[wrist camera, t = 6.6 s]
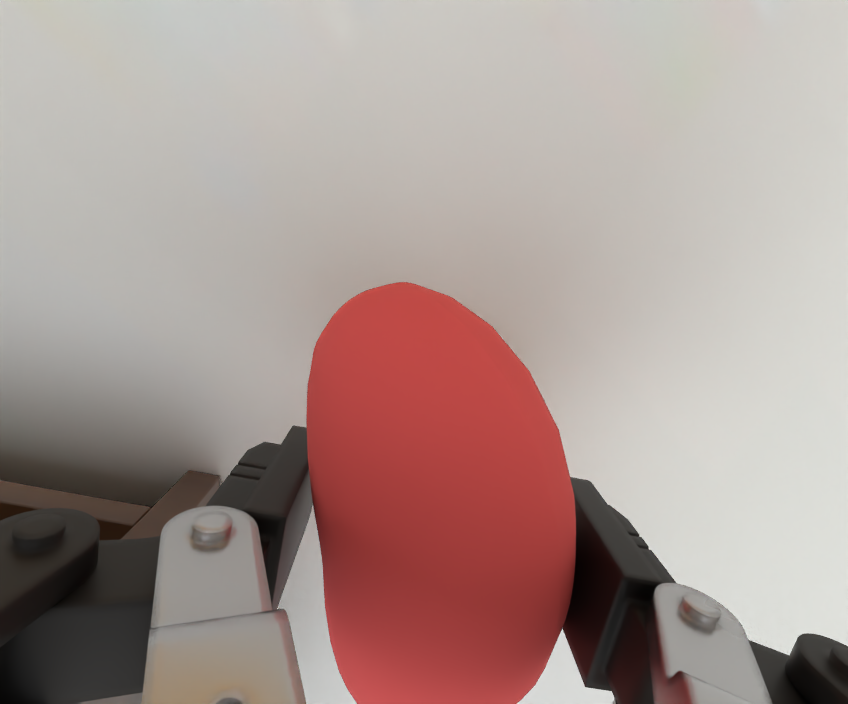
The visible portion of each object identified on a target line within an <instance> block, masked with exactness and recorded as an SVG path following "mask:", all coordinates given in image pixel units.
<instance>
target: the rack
mask: <svg viewBox="0 0 848 704" xmlns="http://www.w3.org/2000/svg"><path fill="white" fill-rule="evenodd" d="M219 484H220V476H216V475H211V474H206V473H200V472H195V471H187V472H186V473H185V474H184V475H183V477H182V478H181V479H180V480H179V481H178V482H177V483H176V484H175V485H174V486H173V487H172V488H171V489H170V490H169V491H168V492H167V493H166V494H165V495H164V496H163V497H162V498H161V499H160V500H159V501H158V502H157V503H156V504H155V505H154V506H153V507H152V508H151V509H150V507H147V506H142V505H136V504H130V503H125V502H119V501H114V500H108V499H102V498H97V497H91V496H86V495H80V494H74V493H69V492H63V491H57V490H52V489H46V488H41V487H35V486H29V485H24V484H18V483H13V482H7V481H1V480H0V521H1V520H3V519H5V518H8V517H11V516H14V515H17V514H20V513H24V512H28V511H33V510H39V509H47V508H68V509H75V510H79V511H83V512H85V513H88V514H90V515H91V516H93V517H94V518H95V519H96V520H97V521H98V523H99V525H100V537H99V540H121V539H140V538H150V537H156V536H160V535H161V532H162V529H163V527H164V526H165V524H166V523H167V522H168V521H169V520H170V519H172V518H173V517H174V516H176V515H178V514H180V513H182V512H184V511H187V510H190V509H193V508H198V507H203V506H206V504H207V503H208V502H209V500H210V499H211V498H212V496H213V495H214V494H215V492H216V491H217V490H218V488H219ZM142 694H143V693H136V694H130V695H124V696H117V697H111V698H105V699H98V700H92V701H86V702H82V703H81V704H141V703H142Z"/></svg>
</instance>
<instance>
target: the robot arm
mask: <svg viewBox="0 0 848 704" xmlns="http://www.w3.org/2000/svg"><path fill="white" fill-rule="evenodd" d="M570 480H571V484H572V488H573V492H574V500H575V513H576V558H575V573H574V582H573V589H572V595H571V600H570V605H569V609H568V612H567V616H566V619H565V622H564V625H563V627H562V628H563V630H564V633H565V636H566V638H567V641H568V643H569V646H570V649H571V651H572V654H573V656H574V659H575V661H576V664H577V667H578V669H579V672H580V674H581V677H582V680H583V682H584V685H585V687H588V688H595V689H602V690H608V691H612V692H613V695H614V697H615V698H614V701H613V704H848V646H846V645H844V644H842V643H839V642H837V641H835V640H832V639H830V638H827V637H824V636H821V635H816V634H802V635H800V636H799V637H798V639H797V641H796V643H795V645H794V647H793V649H792V651H791V654H790V656H789V655H786V654H784V653H781V652H778V651H776V650H773V649H771V648H768V647H765V646H763V645H760V644H757V643H755V642H752V641H750V640H748V638H747V636H746V633H745V631H744V629H743V627H742V625H741V624H740V622H739V621H738V620H737V618H736V617H735V616H734V615H733V614H732V613H731V612H730V611H729V610H728V609H726V608H725V607H724V606H723V605H721V604H720V603H718V602H717V601H716V600H714V599H713V598H711V597H709V596H708V595H706V594H704V593H702V592H700V591H698V590H695V589H693V588H691V587H688V586H685V585H681V584H677V583H676V582H675V581H674V579H673V578H672V577H671V575H670V574H669V573H668V572H667V570H666V569H665V568H664V566H663V565H662V564H661V562H660V561H659V560H658V558H657V557H656V556H655V555H654V553H653V552H652V551H651V550H649V549H648V548H649V547H648V545H647V544H646V543H645V541H644V540H643V539H642V538H641V537H639V534H638V532H637V531H636V530H635V528H634V527H633V526H632V524H631V523H630V522H629V520H628V519H626V518H625V517H624V516H623V515H621V514H620V513H619V512H618V511H616V510H615V509H614V508H612V507H611V506H610V505H607V503H606V502H605V501H604V499H603V498H602V496H601V495H600V494H599V492H598V491H597V490H596V488H595V487H594V485H593V484H592V483H591V482H590V481H588V480H583V479H577V478H572V477H570ZM312 505H313V500H312V494H311V484H310V475H309V465H308V450H307V428H305V427H299V426H294V425H293V426H292V428H291V429H290V431H289V433H288V434H287V436H286V437H285V439H284V441H283V442H282V444H281V445H279V444H273V443H268V442H263V443H261V444H259V445H257V446H255V447H253V448H251V449H249V450H247V452H246V453H245V454H244V456H243V457H242V458H241V459H240V461H239V462H238V465H236V466H235V467H234V469H233V470H232V471H231V473H230V475H228V477H227V478H226V479H225V481H224V482H223V483H222V485H221V486H220V487H219V488H218V490H217V491H216V492H215V494H214V495H213V496H212V498H211V499H210V500H209V502H208V503H207V504H206V506H203V507H198V508H193V509H190V510H187V511H184V512H182V513H180V514H178V515H176V516H174V517H173V518H172V519H170V520H169V521H168V522H167V523H166V524H165V526H164V527H163V529H162V532H161V535H160V536H156V537H150V538H140V539H121V540H99V537H100V525H99V523H98V521H97V520H96V519H95V518H94V517H93V516H91V515H90V514H88V513H85V512H83V511H79V510H75V509H68V508H47V509H39V510H33V511H28V512H24V513H20V514H17V515H14V516H11V517H8V518H5V519H3V520H1V521H0V704H81V703H82V702H86V701H92V700H98V699H105V698H111V697H117V696H124V695H130V694H136V693H143V694H142V703H141V704H306V700H305V695H304V690H303V686H302V681H301V676H300V671H299V666H298V662H297V657H296V652H295V647H294V643H293V638H292V633H291V628H290V623H289V619H288V616H287V613H286V611H285V610H284V609H277V606H278V604H279V601H280V598H281V595H282V593H283V590H284V587H285V584H286V581H287V579H288V576H289V573H290V570H291V567H292V565H293V562H294V559H295V556H296V553H297V551H298V548H299V545H300V542H301V539H302V537H303V534H304V531H305V528H306V525H307V523H308V520H309V516H310V513H311V509H312Z"/></svg>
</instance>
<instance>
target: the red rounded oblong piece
mask: <svg viewBox="0 0 848 704" xmlns="http://www.w3.org/2000/svg"><path fill="white" fill-rule="evenodd" d="M307 450H308V465H309V475H310V484H311V494H312V500H313V506H314V512H315V518H316V524H317V530H318V535H319V541H320V547H321V554H322V563H323V578H324V597H325V609H326V615H327V622H328V628H329V635H330V641H331V645H332V649H333V652H334V655H335V659H336V662H337V666H338V669H339V672H340V674H341V676H342V678H343V681H344V683H345V685H346V687H347V689H348V691H349V692H350V694H351V695H352V696H353V698H354V699H355V701H356V702H357V704H516V703H518V702H519V701H520V700H521V699H522V698H523V697H524V696H525V695H526V694H527V693H528V692H529V691H530V690H531V689H532V688H533V687H534V686H535V684H536V683H537V681H538V679H539V677H540V676H541V674H542V672H543V670H544V669H545V667H546V664H547V662H548V660H549V657H550V655H551V653H552V650H553V648H554V646H555V643H556V641H557V639H558V636H559V634H560V632H561V630H562V627H563V625H564V622H565V619H566V616H567V612H568V609H569V605H570V600H571V595H572V589H573V582H574V573H575V558H576V513H575V500H574V492H573V488H572V484H571V480H570V475H569V471H568V467H567V463H566V459H565V454H564V450H563V446H562V442H561V438H560V433H559V430H558V428H557V426H556V424H555V422H554V420H553V418H552V416H551V414H550V412H549V410H548V408H547V406H546V404H545V402H544V400H543V398H542V396H541V394H540V392H539V390H538V388H537V386H536V384H535V382H534V380H533V378H532V376H531V374H530V372H529V370H528V369H527V368H526V367H525V365H524V364H523V363H522V362H521V361H520V359H519V358H518V357H517V356H516V355H515V353H514V352H513V351H512V350H511V349H510V347H509V346H508V345H507V344H506V343H505V341H504V340H503V339H502V338H501V337H500V335H499V334H498V333H497V332H496V331H495V329H494V328H493V327H492V326H491V325H489V324H488V323H487V322H485V321H484V320H482V319H481V318H480V317H478V316H477V315H476V314H474V313H473V312H471V311H470V310H469V309H467V308H466V307H464V306H463V305H462V304H460V303H459V302H458V301H456V300H455V299H453V298H451V297H449V296H447V295H444V294H441V293H439V292H436V291H433V290H430V289H427V288H424V287H421V286H419V285H416V284H412V283H407V282H399V283H393V284H388V285H384V286H380V287H376V288H372V289H369V290H367V291H364V292H362V293H360V294H358V295H356V296H355V297H353V298H351V299H350V300H349V301H348V302H346V303H345V304H344V305H343V306H342V307H341V308H339V309H338V311H337V312H336V313H335V314H334V315H333V317H332V318H331V319H330V321H329V322H328V324H327V326H326V327H325V329H324V330H323V332H322V333H321V335H320V337H319V339H318V341H317V342H316V345H315V348H314V352H313V358H312V365H311V371H310V376H309V381H308V392H307Z"/></svg>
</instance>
